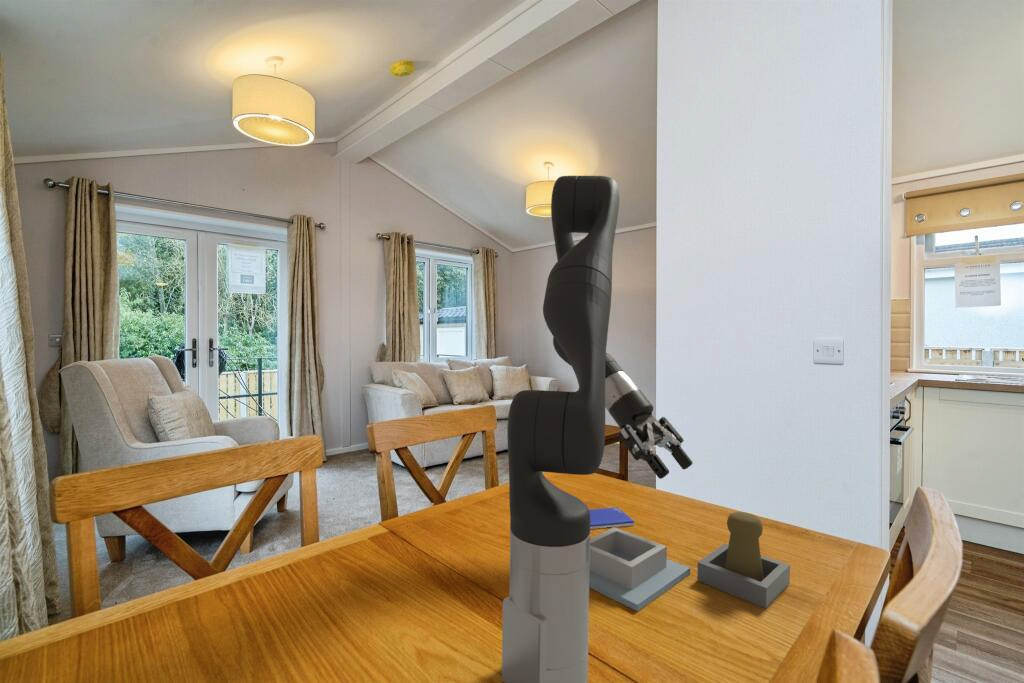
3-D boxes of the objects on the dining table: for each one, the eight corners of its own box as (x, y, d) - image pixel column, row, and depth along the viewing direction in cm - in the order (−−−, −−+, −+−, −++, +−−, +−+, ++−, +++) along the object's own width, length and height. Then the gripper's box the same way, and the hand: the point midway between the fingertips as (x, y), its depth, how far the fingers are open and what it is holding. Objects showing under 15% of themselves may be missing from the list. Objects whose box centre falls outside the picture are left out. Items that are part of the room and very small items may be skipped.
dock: (637, 611, 68) (638, 580, 68) (554, 569, 80) (554, 543, 80) (690, 573, 79) (690, 547, 79) (610, 541, 91) (610, 518, 91)
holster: (766, 608, 70) (766, 588, 69) (697, 580, 77) (697, 562, 77) (789, 583, 77) (790, 564, 77) (724, 560, 84) (724, 543, 84)
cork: (741, 594, 73) (743, 523, 73) (714, 575, 79) (716, 509, 79) (773, 589, 75) (775, 520, 75) (745, 570, 81) (746, 506, 80)
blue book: (617, 506, 107) (564, 510, 104) (634, 520, 99) (578, 525, 96) (616, 513, 107) (564, 517, 104) (634, 527, 99) (577, 533, 96)
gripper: (614, 390, 86) (671, 467, 78) (655, 385, 96) (709, 452, 88) (590, 415, 90) (642, 491, 82) (631, 408, 100) (682, 474, 92)
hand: (677, 471), depth 85 cm, fingers open, 8 cm apart
